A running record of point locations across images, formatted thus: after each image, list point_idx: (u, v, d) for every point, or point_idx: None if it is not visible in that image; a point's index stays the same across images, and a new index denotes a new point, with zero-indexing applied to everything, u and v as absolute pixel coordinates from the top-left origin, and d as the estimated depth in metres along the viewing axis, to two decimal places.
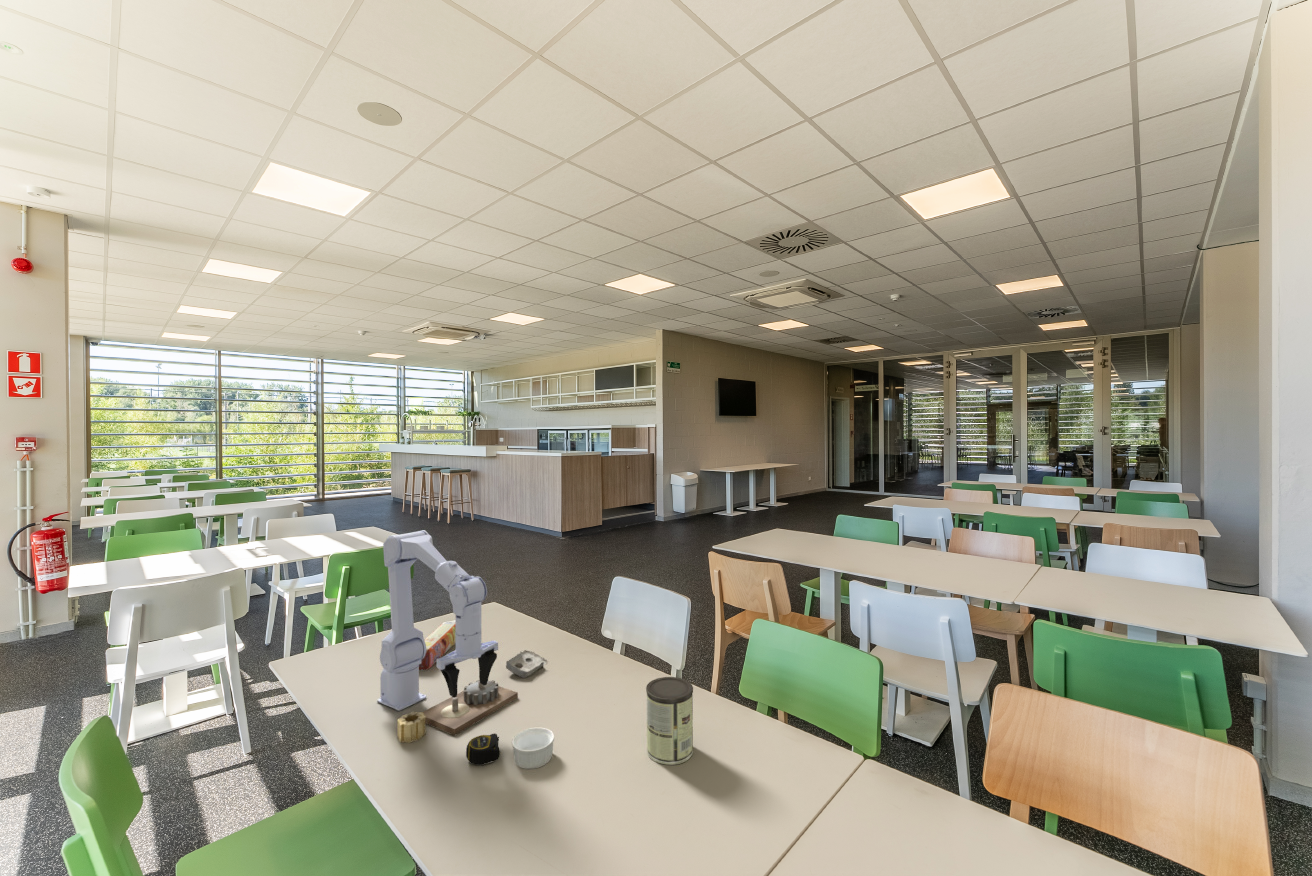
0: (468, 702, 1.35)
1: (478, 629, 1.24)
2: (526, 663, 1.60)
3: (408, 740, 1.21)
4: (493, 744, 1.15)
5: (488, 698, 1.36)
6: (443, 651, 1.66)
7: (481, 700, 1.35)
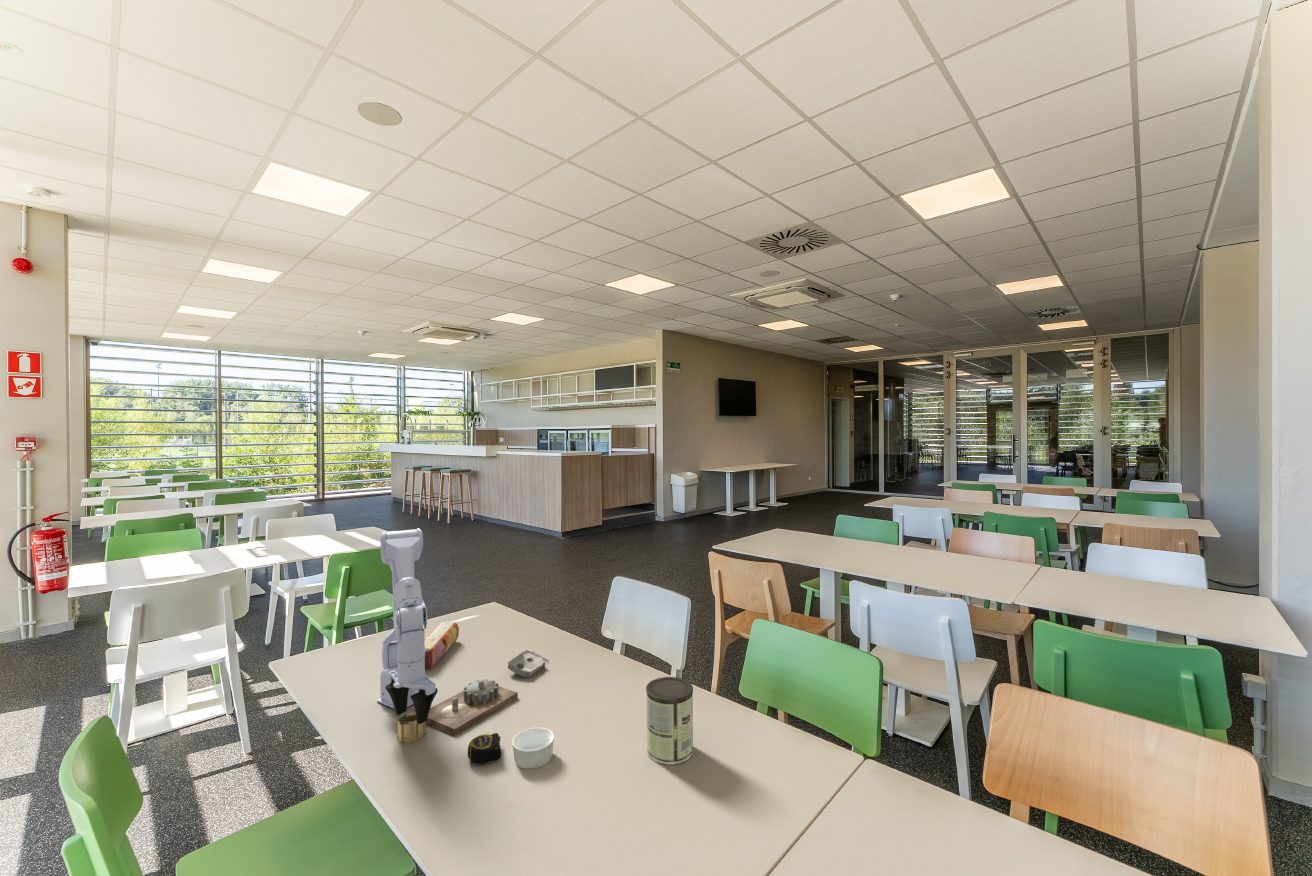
0: (468, 702, 1.35)
1: (415, 658, 1.22)
2: (527, 663, 1.60)
3: (408, 740, 1.21)
4: (494, 744, 1.15)
5: (488, 698, 1.36)
6: (443, 651, 1.66)
7: (481, 700, 1.35)
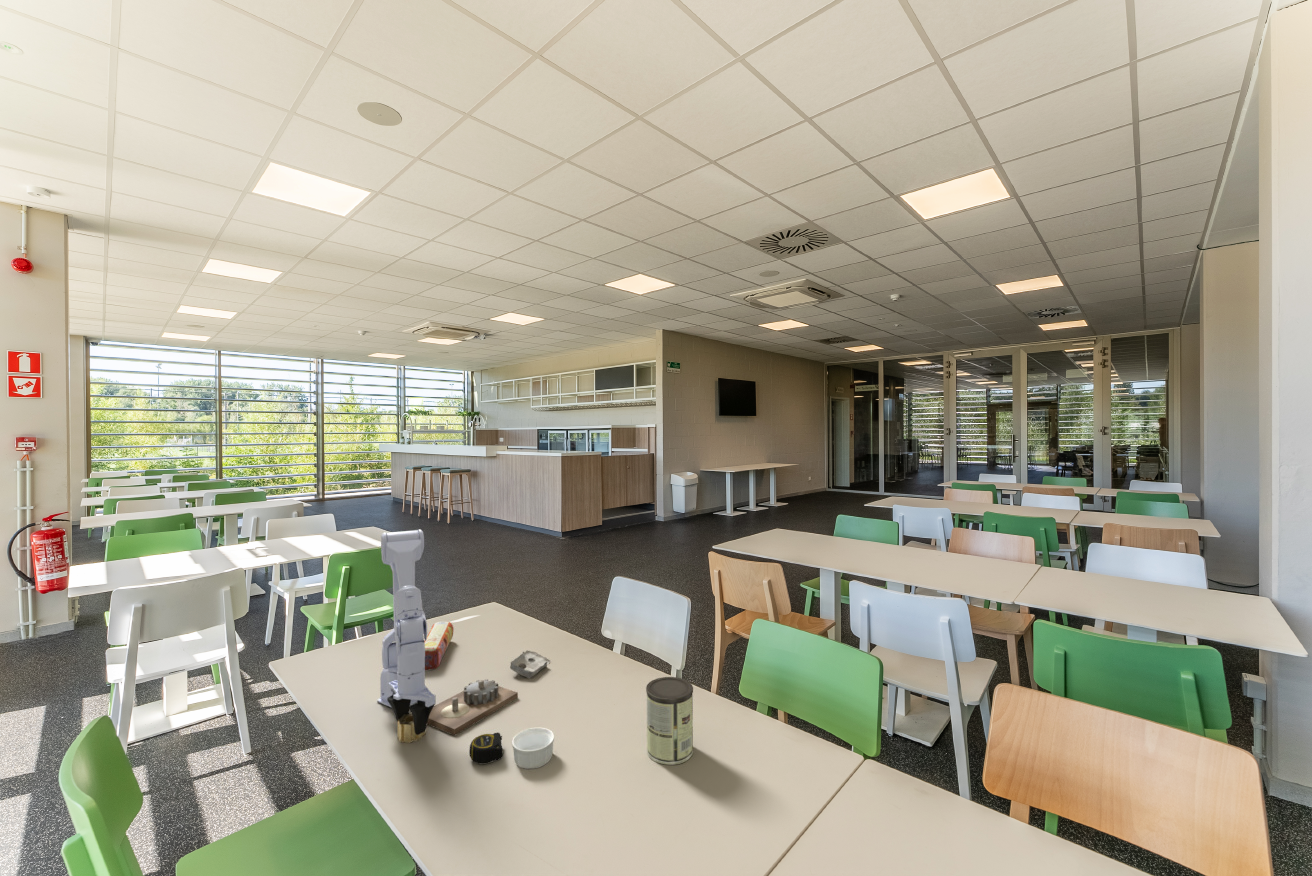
0: (468, 702, 1.35)
1: (415, 670, 1.22)
2: (529, 663, 1.60)
3: (408, 740, 1.21)
4: (496, 743, 1.15)
5: (488, 698, 1.36)
6: (445, 650, 1.67)
7: (481, 700, 1.35)
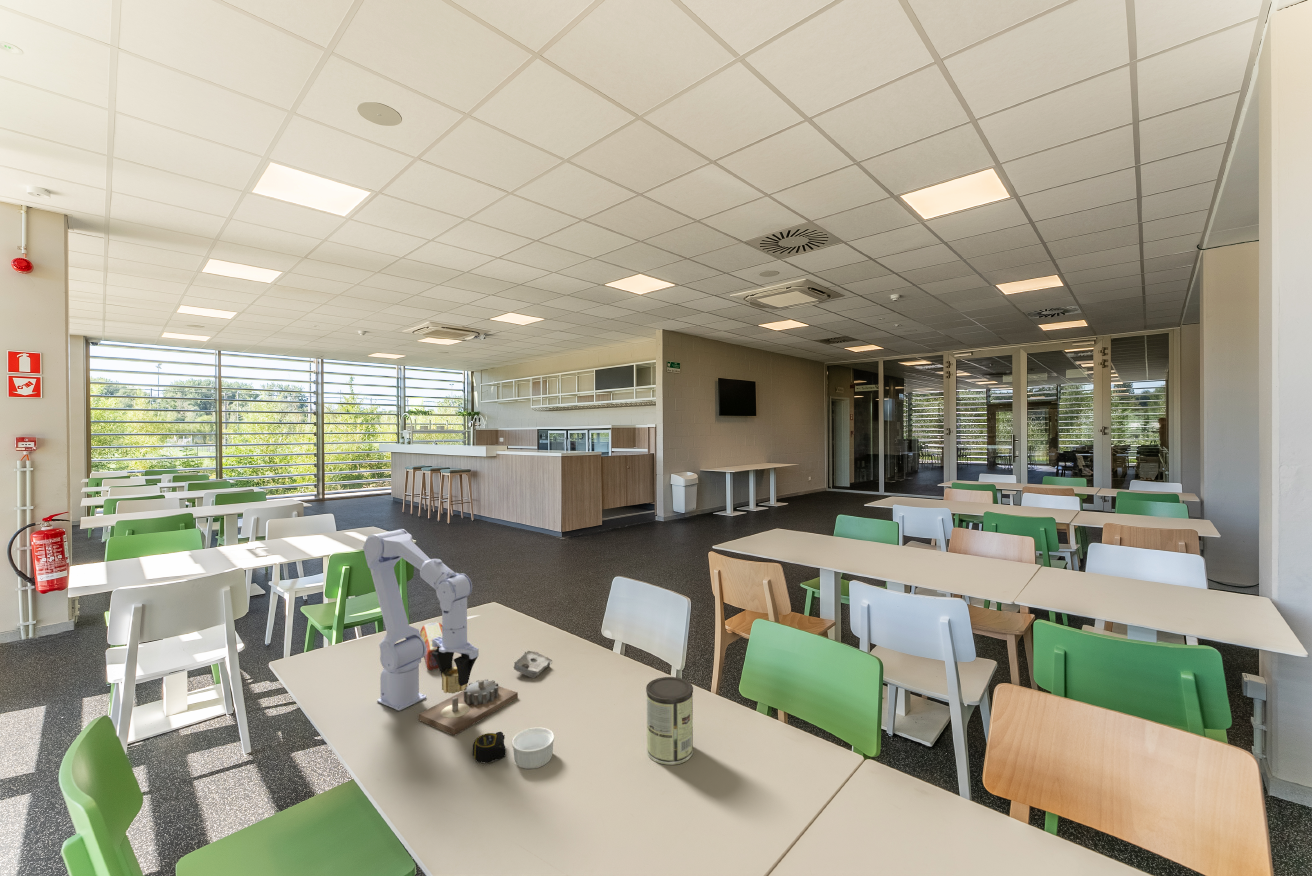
0: (468, 702, 1.35)
1: (465, 623, 1.31)
2: (532, 663, 1.60)
3: (452, 691, 1.29)
4: (499, 742, 1.15)
5: (488, 698, 1.36)
6: None
7: (481, 700, 1.35)
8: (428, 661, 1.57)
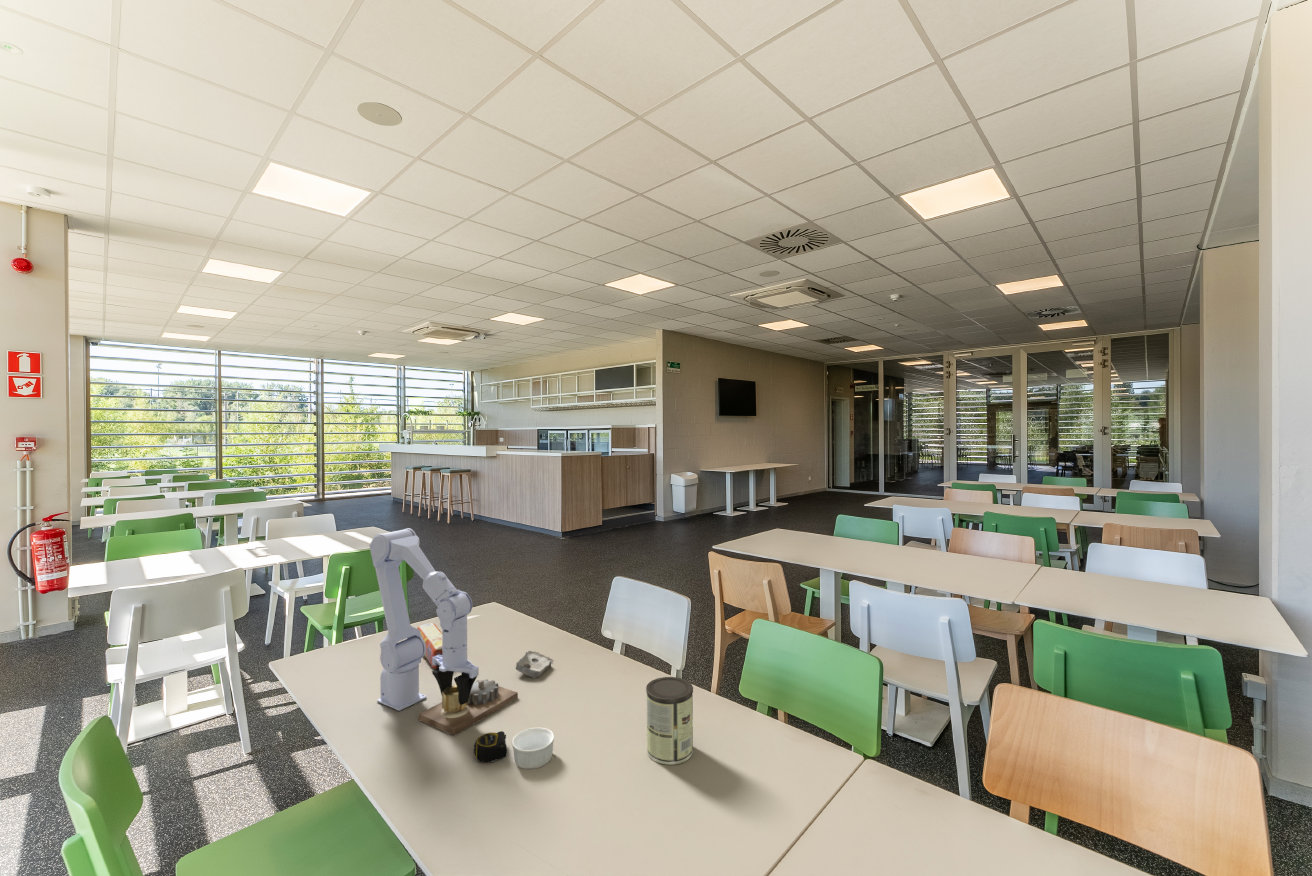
0: (468, 702, 1.35)
1: (465, 641, 1.31)
2: (533, 663, 1.60)
3: (452, 710, 1.29)
4: (500, 742, 1.15)
5: (488, 698, 1.36)
6: None
7: (481, 700, 1.35)
8: None
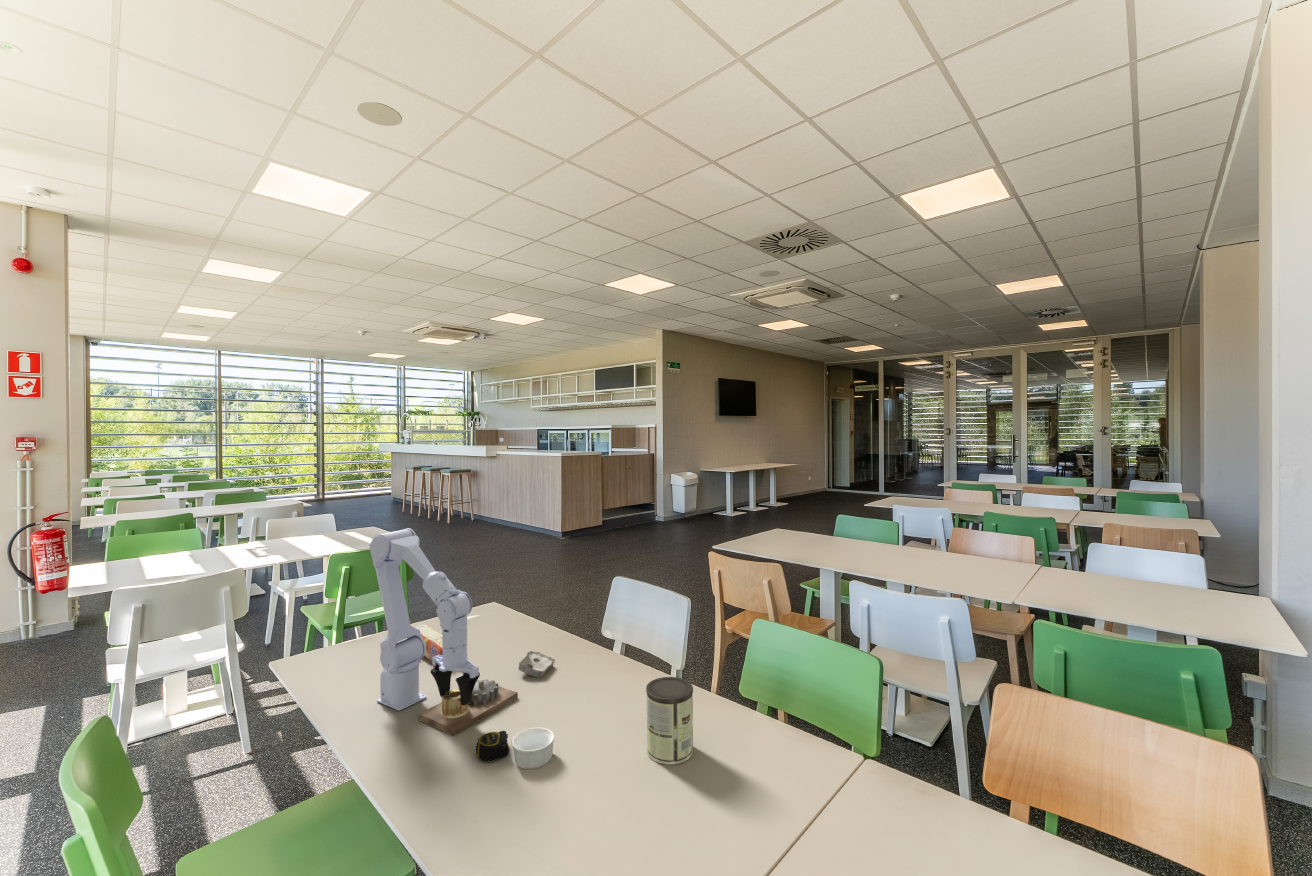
0: None
1: (465, 641, 1.31)
2: (535, 663, 1.60)
3: (452, 714, 1.29)
4: (502, 741, 1.16)
5: (488, 698, 1.36)
6: None
7: (481, 700, 1.35)
8: None
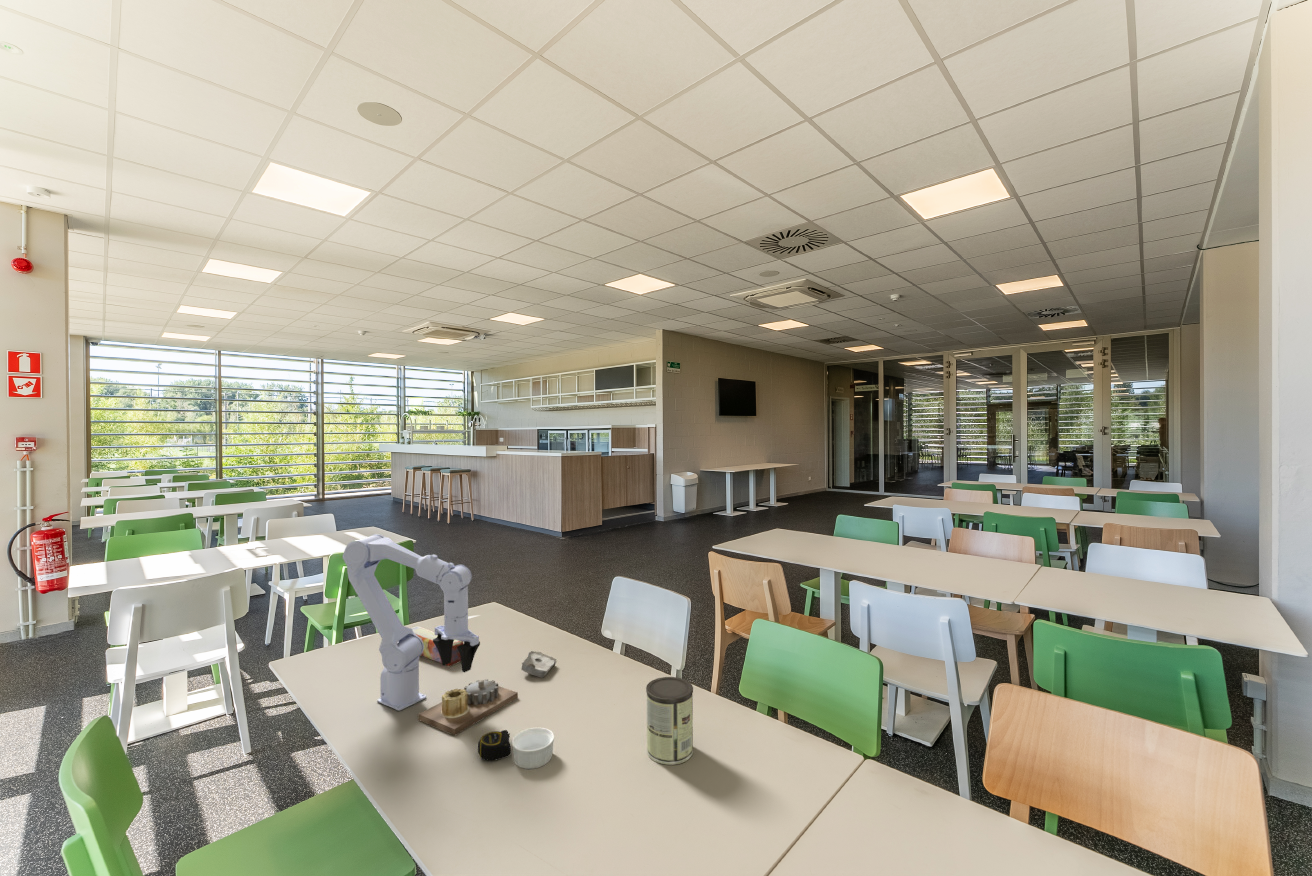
0: (468, 702, 1.35)
1: (467, 610, 1.38)
2: (537, 663, 1.60)
3: (452, 714, 1.29)
4: (504, 741, 1.16)
5: (488, 698, 1.36)
6: None
7: (481, 700, 1.35)
8: None
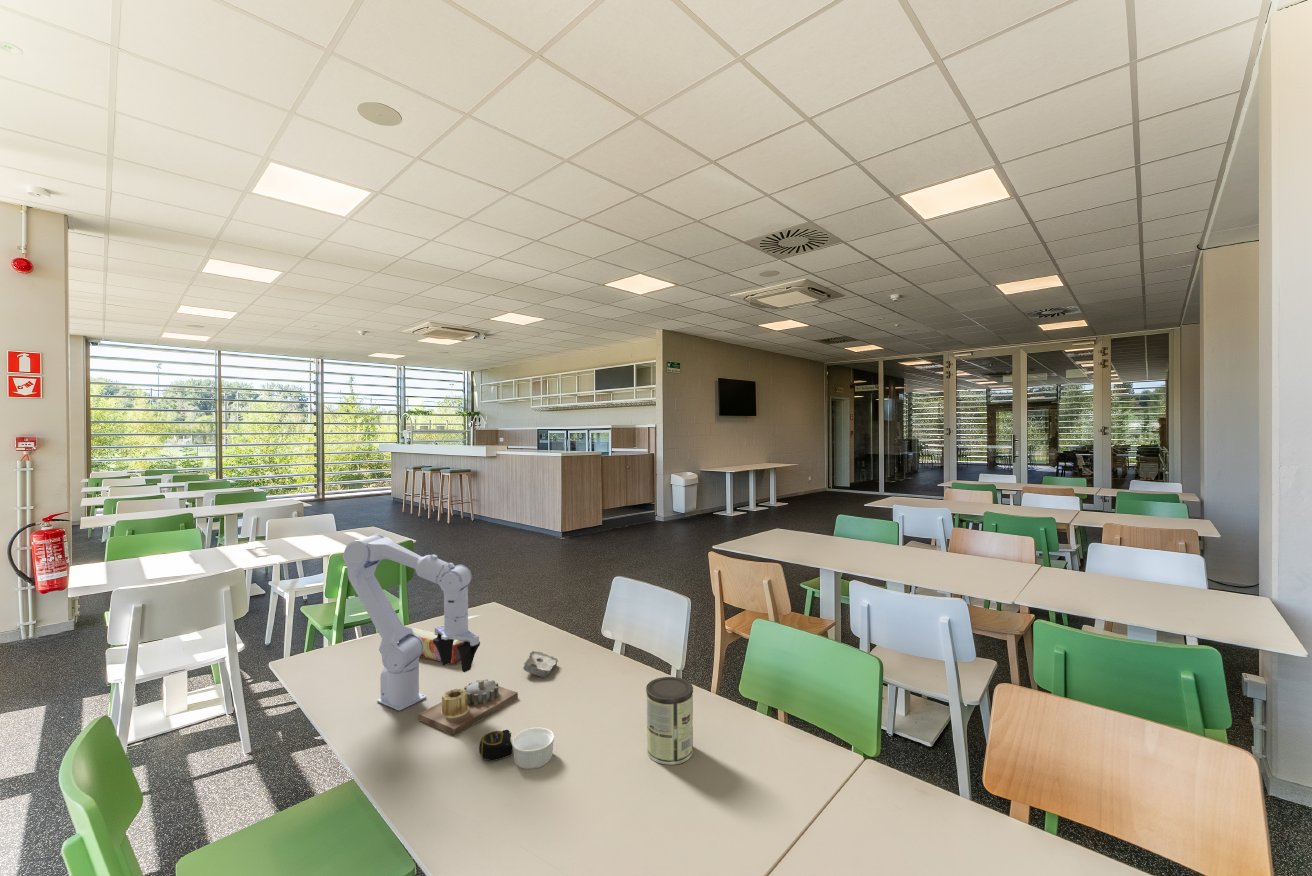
0: (468, 702, 1.35)
1: (467, 610, 1.38)
2: (539, 663, 1.60)
3: (452, 714, 1.29)
4: (505, 740, 1.16)
5: (488, 698, 1.36)
6: None
7: (481, 700, 1.35)
8: (453, 656, 1.61)
